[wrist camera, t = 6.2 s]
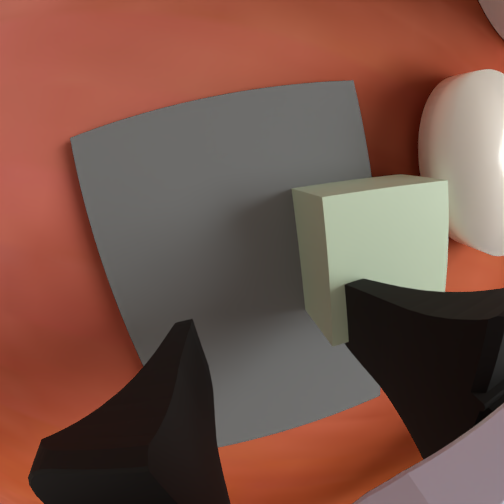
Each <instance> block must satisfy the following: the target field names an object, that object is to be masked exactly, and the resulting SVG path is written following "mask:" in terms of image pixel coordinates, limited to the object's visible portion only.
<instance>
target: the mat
mask: <svg viewBox="0 0 504 504" xmlns="http://www.w3.org/2000/svg"><path fill="white" fill-rule="evenodd" d="M70 140H71V145H72V151H73V156H74V161H75V165H76V170H77V174H78V179H79V183H80V187H81V191H82V195H83V199H84V203H85V207H86V211H87V214H88V218H89V222H90V225H91V229H92V232H93V235H94V239H95V242H96V245H97V248H98V251H99V255H100V258H101V261H102V264H103V267H104V270H105V273H106V275H107V278H108V281H109V284H110V287H111V289H112V292H113V295H114V297H115V300H116V303H117V305H118V308H119V310H120V313H121V316H122V318H123V320H124V323H125V325H126V328H127V330H128V333H129V335H130V337H131V340H132V342H133V344H134V346H135V349H136V351H137V353H138V355H139V358H140V360H141V362H142V364H143V366H144V365H145V364H146V363H147V362H148V360H149V359H150V358H151V357H152V355H153V354H154V353H155V351H156V350H157V349H158V347H159V346H160V344H161V343H162V341H163V340H164V339H165V337H166V336H167V334H168V333H169V331H170V330H171V328H172V327H173V325H174V324H175V323H176V322H180V321H185V320H189V319H193V322H194V325H195V328H196V331H197V333H198V336H199V339H200V342H201V345H202V348H203V351H204V354H205V357H206V359H207V362H208V365H209V370H210V375H211V380H212V385H213V393H214V409H215V424H216V438H217V446H218V447H223V446H227V445H232V444H236V443H241V442H245V441H249V440H253V439H257V438H261V437H264V436H268V435H272V434H275V433H279V432H282V431H286V430H289V429H292V428H295V427H299V426H302V425H305V424H308V423H311V422H314V421H317V420H320V419H322V418H325V417H328V416H331V415H334V414H336V413H339V412H341V411H344V410H347V409H349V408H352V407H354V406H357V405H359V404H362V403H364V402H366V401H369V400H371V399H373V398H376V397H378V396H380V386H379V385H378V383H377V382H376V381H375V380H374V379H373V378H372V376H371V375H370V374H369V373H368V372H367V371H366V369H365V368H364V367H363V366H362V365H361V364H360V362H359V361H358V360H357V359H356V358H355V356H354V355H353V354H352V353H351V352H350V350H349V349H348V348H347V346H346V345H345V343H343V344H340V345H337V346H333V347H332V345H331V344H330V343H329V341H328V340H327V339H326V337H325V336H324V334H323V333H322V332H321V330H320V329H319V328H318V326H317V325H316V324H315V322H314V321H313V320H312V318H311V317H310V315H309V314H308V313H307V311H306V310H305V302H304V292H303V282H302V272H301V263H300V254H299V245H298V237H297V228H296V220H295V212H294V205H293V197H292V189H291V188H298V187H304V186H311V185H318V184H325V183H332V182H339V181H347V180H355V179H362V178H371V177H372V176H371V169H370V162H369V156H368V150H367V144H366V139H365V133H364V128H363V123H362V118H361V113H360V108H359V103H358V99H357V94H356V90H355V86H354V81H353V80H352V81H330V82H315V83H303V84H293V85H284V86H275V87H268V88H260V89H253V90H247V91H241V92H235V93H229V94H224V95H218V96H213V97H208V98H203V99H199V100H194V101H190V102H185V103H181V104H177V105H173V106H169V107H165V108H161V109H157V110H154V111H150V112H146V113H143V114H139V115H136V116H133V117H129V118H126V119H123V120H120V121H117V122H113V123H110V124H107V125H104V126H102V127H99V128H96V129H93V130H90V131H87V132H85V133H82V134H79V135H77V136H74V137H71V138H70Z"/></svg>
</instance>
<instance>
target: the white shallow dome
mask: <svg viewBox="0 0 504 504" xmlns="http://www.w3.org/2000/svg"><path fill="white" fill-rule="evenodd" d="M418 159H419V170H420V176H421V177H428V178H435V179H442V180H448V200H449V234H448V236H449V237H450V238H451V239H453V240H455V241H456V242H459V243H461V244H464V245H467V246H469V247H472V248H475V249H477V250H480V251H482V252H485V253H487V254H490V255H493V256H503V255H504V74H502V73H501V72H499V71H496V70H491V69H485V70H479V71H474V72H469V73H464V74H459V75H455V76H450V77H448V78H446V79H444V80H443V81H441V82H440V83H439V84H438V85H437V86H436V87H435V88H434V89H433V91H432V92H431V94H430V96H429V97H428V99H427V102H426V104H425V106H424V110H423V113H422V117H421V122H420V128H419V138H418Z"/></svg>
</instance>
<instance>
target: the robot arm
mask: <svg viewBox="0 0 504 504" xmlns="http://www.w3.org/2000/svg"><path fill="white" fill-rule="evenodd" d="M344 285H345V297H346V309H347V323H348V339H349V342H346V343H345V345H346V346H347V348H348V349H349V350H350V352H351V353H352V354H353V355H354V356H355V358H356V359H357V360H358V361H359V362H360V364H361V365H362V366H363V367H364V368H365V369H366V371H367V372H368V373H369V374H370V375H371V376H372V378H373V379H374V380H375V381H376V382H377V383H378V385H379V386H380V387H381V388H382V390H383V391H384V392H385V393H386V395H387V396H388V398H389V399H390V401H391V403H392V404H393V406H394V407H395V409H396V410H397V412H398V414H399V415H400V417H401V419H402V420H403V422H404V424H405V425H406V427H407V429H408V431H409V432H410V434H411V436H412V438H413V440H414V442H415V444H416V446H417V447H418V449H419V451H420V453H421V455H422V458H423V460H422V461H421V462H419V463H417V464H415V465H414V466H412V467H410V468H408V469H406V470H404V471H402V472H401V473H399V474H398V475H396V476H394V477H393V478H391V479H390V480H388V481H386V482H385V483H383V484H381V485H379V486H378V487H376V488H374V489H372V490H371V491H369V492H367V493H366V494H364V495H363V496H362V497H360V498H359V499H358V500H357V501H355V502H354V503H353V504H504V288H501V289H494V290H487V291H476V292H439V291H426V290H418V289H412V288H406V287H400V286H395V285H390V284H386V283H381V282H377V281H372V280H368V279H364V278H363V279H360V280H357V281H353V282H350V283H347V284H344ZM28 479H29V485H30V486H31V488H32V490H33V491H34V493H35V494H36V496H37V497H38V498H39V499H40V500H41V501H42V502H43V503H44V504H230V500H229V496H228V492H227V488H226V484H225V480H224V476H223V471H222V467H221V462H220V457H219V453H218V446H217V438H216V424H215V409H214V393H213V385H212V380H211V375H210V370H209V365H208V362H207V359H206V357H205V354H204V351H203V348H202V345H201V342H200V339H199V336H198V333H197V331H196V328H195V325H194V322H193V319H189V320H185V321H180V322H176V323H175V324H174V325H173V327H172V328H171V330H170V331H169V333H168V334H167V336H166V337H165V339H164V340H163V341H162V343H161V344H160V346H159V347H158V349H157V350H156V351H155V353H154V354H153V355H152V357H151V358H150V359H149V360H148V362H147V363H146V364H145V365H144V367H143V368H142V369H141V370H140V371H139V373H138V374H137V375H136V376H135V377H134V378H133V379H132V380H131V381H130V382H129V383H128V384H127V385H126V386H125V387H124V388H123V389H122V390H121V391H120V392H118V393H117V394H116V395H115V396H113V397H112V398H111V399H110V400H108V401H107V402H106V403H105V404H103V405H102V406H101V407H100V408H98V409H97V410H95V411H94V412H92V413H91V414H89V415H88V416H86V417H85V418H83V419H81V420H80V421H78V422H76V423H75V424H73V425H71V426H69V427H67V428H65V429H63V430H61V431H59V432H57V433H55V434H53V435H51V436H49V437H46V438H44V439H42V440H41V443H40V445H39V448H38V451H37V454H36V456H35V459H34V462H33V465H32V468H31V471H30V474H29V477H28Z"/></svg>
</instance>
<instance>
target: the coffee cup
mask: <svg viewBox="0 0 504 504" xmlns="http://www.w3.org/2000/svg"><path fill="white" fill-rule="evenodd" d="M478 1H479V3H480V5H481V7H482V9H483V11H484V13H485V14H486V16H487V18H488V19H489V21H490V22H491V24H492V25H493V27H494V28H495V30H496V31H497V32H498V34H499V35H500V36H501V37H502V38H503V40H504V0H478Z"/></svg>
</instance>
